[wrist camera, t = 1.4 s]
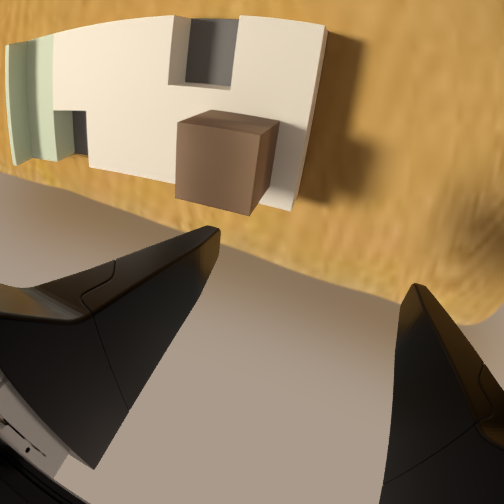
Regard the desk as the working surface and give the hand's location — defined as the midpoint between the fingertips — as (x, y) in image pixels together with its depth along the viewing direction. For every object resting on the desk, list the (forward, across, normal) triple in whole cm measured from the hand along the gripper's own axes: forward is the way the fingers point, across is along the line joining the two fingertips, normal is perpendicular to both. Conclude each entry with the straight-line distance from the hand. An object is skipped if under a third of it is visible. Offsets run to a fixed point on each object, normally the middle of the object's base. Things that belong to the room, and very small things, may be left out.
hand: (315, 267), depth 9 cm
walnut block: (+10, +6, 0) cm, 11 cm away
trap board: (+12, +14, -2) cm, 19 cm away
